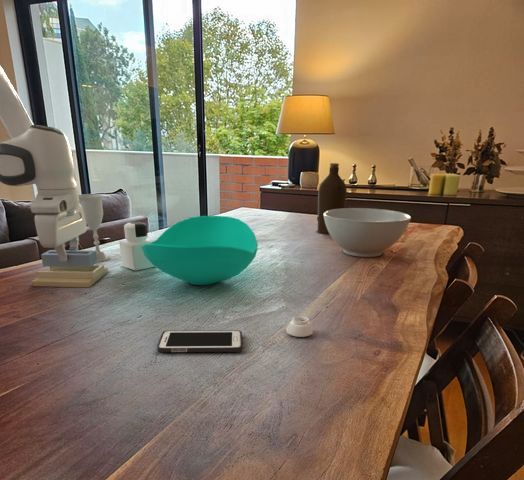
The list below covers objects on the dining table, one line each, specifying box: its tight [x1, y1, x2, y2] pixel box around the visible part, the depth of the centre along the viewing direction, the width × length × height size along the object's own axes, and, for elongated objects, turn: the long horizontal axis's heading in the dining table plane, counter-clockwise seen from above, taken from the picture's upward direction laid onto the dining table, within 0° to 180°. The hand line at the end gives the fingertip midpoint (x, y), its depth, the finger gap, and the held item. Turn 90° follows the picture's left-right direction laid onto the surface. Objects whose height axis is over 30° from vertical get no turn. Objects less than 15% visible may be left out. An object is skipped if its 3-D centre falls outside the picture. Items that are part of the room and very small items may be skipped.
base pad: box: [31, 264, 109, 288], centre depth 117 cm, size 14×14×3 cm
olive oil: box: [316, 162, 348, 235], centre depth 174 cm, size 11×11×25 cm
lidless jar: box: [286, 315, 314, 338], centre depth 87 cm, size 5×3×5 cm
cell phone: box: [156, 329, 243, 353], centre depth 82 cm, size 8×15×1 cm, turn 93°
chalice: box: [78, 194, 109, 262], centre depth 132 cm, size 7×7×18 cm
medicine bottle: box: [119, 221, 156, 271], centre depth 127 cm, size 7×7×12 cm
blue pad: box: [40, 249, 98, 268], centre depth 116 cm, size 12×5×3 cm, turn 89°
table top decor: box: [142, 215, 259, 286], centre depth 114 cm, size 40×28×13 cm
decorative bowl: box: [324, 207, 412, 258], centre depth 146 cm, size 27×27×12 cm
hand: (69, 257), depth 115 cm, fingers closed on blue pad, 5 cm apart
